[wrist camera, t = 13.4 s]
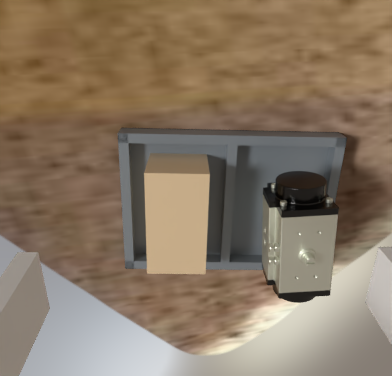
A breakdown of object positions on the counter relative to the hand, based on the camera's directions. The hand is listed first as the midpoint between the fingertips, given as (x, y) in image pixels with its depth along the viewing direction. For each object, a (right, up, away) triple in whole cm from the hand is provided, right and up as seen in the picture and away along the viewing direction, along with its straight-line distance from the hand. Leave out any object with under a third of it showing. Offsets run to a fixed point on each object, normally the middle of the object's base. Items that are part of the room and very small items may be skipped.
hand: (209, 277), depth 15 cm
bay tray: (+3, +2, +28) cm, 28 cm away
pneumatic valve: (+8, +2, +28) cm, 29 cm away
